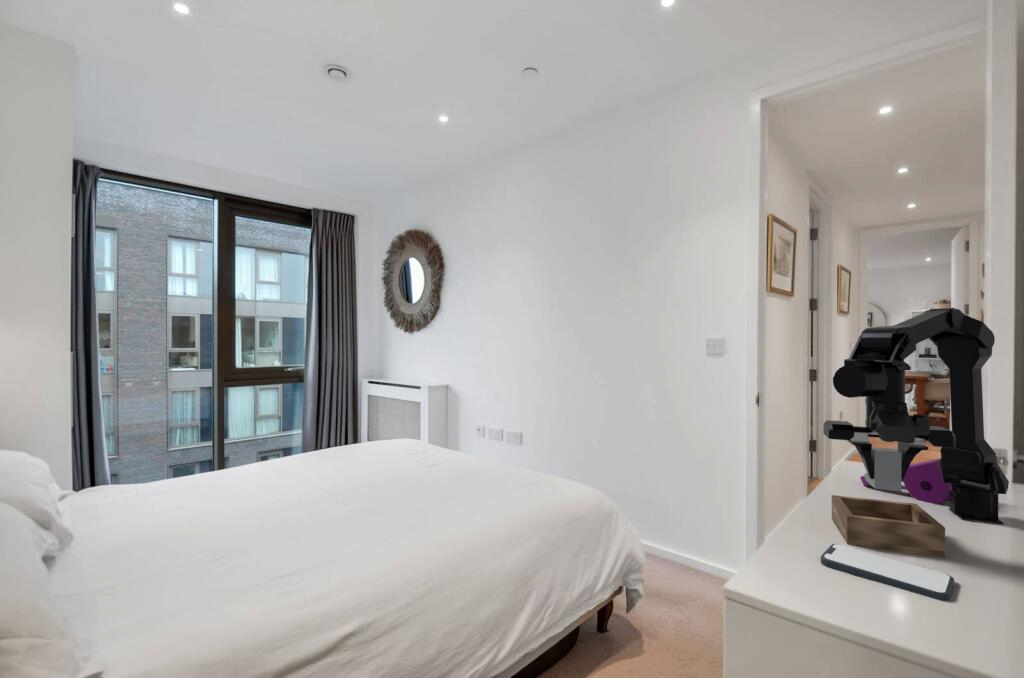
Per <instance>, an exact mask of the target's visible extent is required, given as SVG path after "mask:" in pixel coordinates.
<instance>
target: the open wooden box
mask: <svg viewBox="0 0 1024 678" xmlns="http://www.w3.org/2000/svg"><path fill="white" fill-rule="evenodd" d="M831 521H832V522H833V524H834V525H835V526H836V528H837V530H838V532H839V533H840V535H841V536H842V539H844V541H845V543H846V544H847V545H853V546H860V547H866V548H867V547H868V548H874V549H883V550H888V551H896V552H897V551H898V552H903V553H904V552H905V553H911V554H917V555H925V556H932V557H941V558H946V527H945V526H944V525H942V524H941V523H940V522H939V521H938V520H936V519H935V518H934V517H933V516H931V514H929V512H927V511H926V510H925V509H923V508H922V507H921V506H920V505H919V504H917V503H914V502H912V503H911V502H903V501H893V500H884V499H883V500H882V499H875V498H874V499H873V498H864V497H855V496H854V497H853V496H845V495H834V494H831Z"/></svg>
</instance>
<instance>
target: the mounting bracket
mask: <svg viewBox="0 0 1024 678" xmlns="http://www.w3.org/2000/svg"><path fill="white" fill-rule="evenodd" d="M940 461H941V457H939V458H935V459H930V460H927V461H922V462H917V463H911V464H910V466H909V468H908V470H907V472H906V474H905V477H904V479H903V481H902V483H903V484H904V486H905V488H906V490H907V492H908V493H909V494H910V496H912V497H913V498H914V499H915V500H917V501H919V502H923V503H927V504H928V503H929V504H932V503H933V504H934V505H936V504H939V503H942V502H944V501H946V500H947V499H950V491H953V484H949V483H948V484H947V483H944V479H943V475H942V470H941V466H940ZM859 479H860V481H861V482H862V485H863V486H864V487H865V486H866V487H867V486H871V485H870V484H869V483H868V482H867V481H866V480H865V475H862V476H860V477H859ZM933 504H932V505H933Z"/></svg>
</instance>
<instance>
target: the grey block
mask: <svg viewBox="0 0 1024 678" xmlns="http://www.w3.org/2000/svg"><path fill="white" fill-rule="evenodd" d="M871 454H872V463H873V479H870V478H869V476H868V473H867V472H866V473H864V476H865V480H866V481H867V482H868V483H869V484H870V485H869V486H871V487H873V488H874V490H884V491H892V492H893V491H895V492H902V482H901V452H900V451H898V449H896V448H884V447H873V446H872V449H871Z"/></svg>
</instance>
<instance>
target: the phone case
mask: <svg viewBox="0 0 1024 678" xmlns="http://www.w3.org/2000/svg"><path fill="white" fill-rule="evenodd" d="M820 564H821V565H822V566H824V567H826V568H829V569H832V570H835V571H839V572H843V573H846V574H849V575H853V576H856V577H860V578H863V579H866V580H870V581H873V582H876V583H879V584H883V585H887V586H890V587H894V588H897V589H900V590H904V591H908V592H911V593H914V594H918V595H921V596H925V597H928V598H931V599H934V600H939V601H945V602H947V601H948V602H949V600H950V599H951V596H952V592H953V589H954V586H955V579H954V577H953V576H952V575H950V574H948V573H944V572H942V571H938V570H934V569H930V568H928V567H923V566H920V565H916V564H913V563H909V562H905V561H901V560H898V559H894V558H890V557H886V556H884V555H879V554H876V553H874V552H873V553H872V552H868V551H865V550H862V549H858V548H854V547H852V546H847V545H843V544H840V543H832V544H831V545H829V547H828V548H827V549H826V550H825V551H824V552H823V553H822V555H820Z"/></svg>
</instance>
